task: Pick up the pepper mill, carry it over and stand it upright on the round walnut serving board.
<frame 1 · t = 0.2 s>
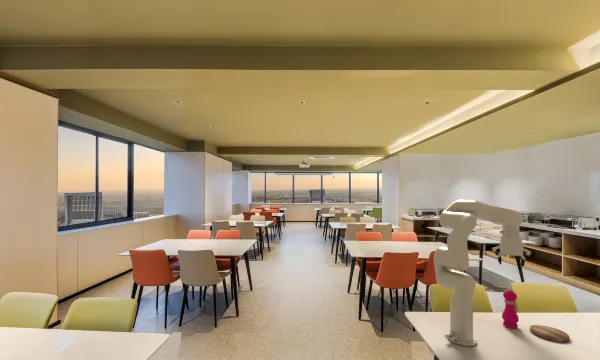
hand: (511, 265, 162), 31 cm above the table, tool pointing down, fingers open, 9 cm apart
walnut board: (549, 334, 147), on the table
pepper mill: (510, 326, 156), on the table
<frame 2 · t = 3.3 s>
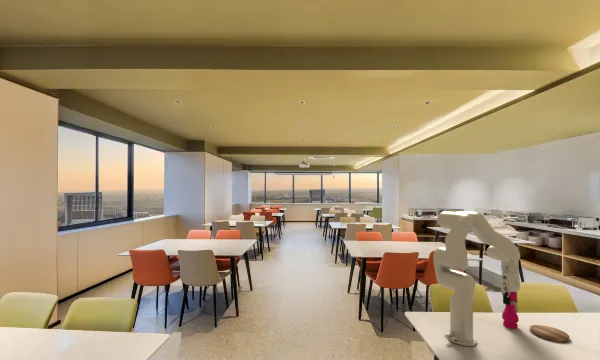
hand: (510, 302, 156), 12 cm above the table, tool pointing down, fingers closed on pepper mill, 6 cm apart
pepper mill: (510, 326, 156), on the table, touching gripper
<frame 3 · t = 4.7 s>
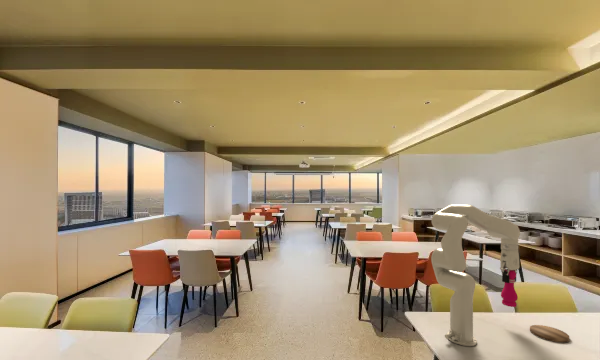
hand: (509, 281, 157), 23 cm above the table, tool pointing down, fingers closed on pepper mill, 6 cm apart
pepper mill: (509, 305, 156), point 11 cm above the table, touching gripper
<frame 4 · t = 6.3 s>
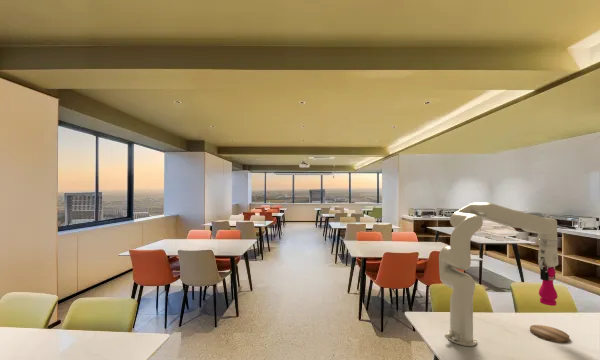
hand: (547, 278, 148), 27 cm above the table, tool pointing down, fingers closed on pepper mill, 6 cm apart
pepper mill: (548, 303, 148), point 15 cm above the table, touching gripper
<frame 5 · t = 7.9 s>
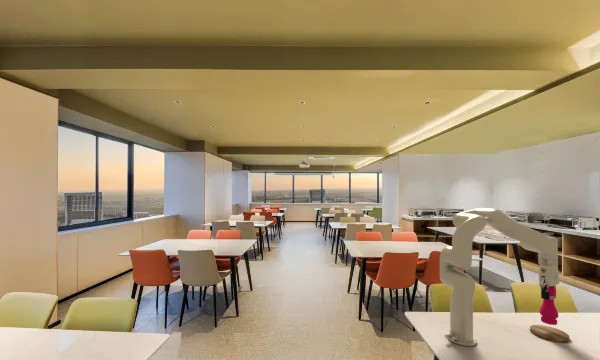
hand: (548, 297, 148), 18 cm above the table, tool pointing down, fingers closed on pepper mill, 6 cm apart
pepper mill: (548, 322, 147), point 6 cm above the table, touching gripper
when the fingers open (15 cm above the table, at t = 9.5 s): pepper mill drops 1 cm, resting on walnut board.
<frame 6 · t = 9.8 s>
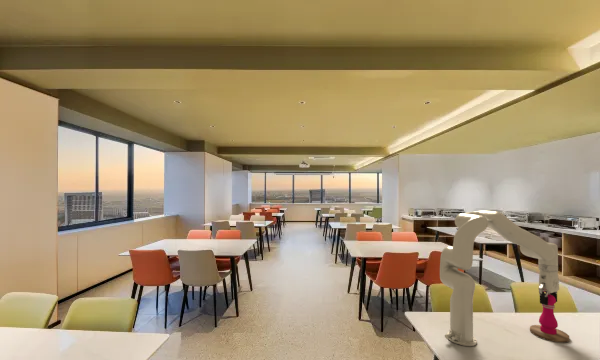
hand: (548, 302, 148), 16 cm above the table, tool pointing down, fingers open, 9 cm apart
pepper mill: (548, 332, 147), point 1 cm above the table, touching walnut board
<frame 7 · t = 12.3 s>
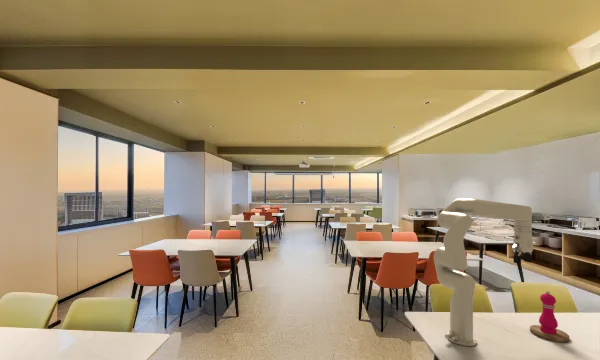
hand: (522, 262, 154), 34 cm above the table, tool pointing down, fingers open, 9 cm apart
nothing on the table moved.
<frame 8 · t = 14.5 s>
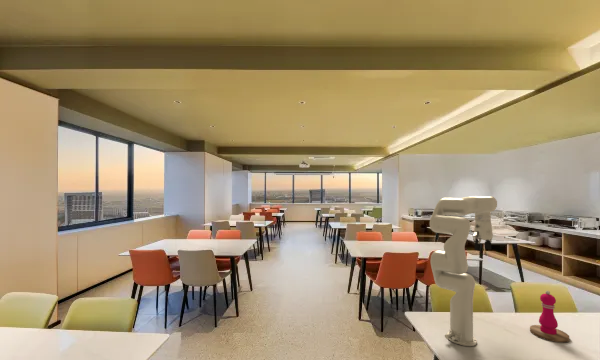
hand: (482, 249, 165), 38 cm above the table, tool pointing down, fingers open, 9 cm apart
nothing on the table moved.
at the end: pepper mill inside the target area on the walnut board (0.3 cm from its centre), point 1.3 cm above the walnut board's base; pepper mill tilted 0°; the gripper is holding nothing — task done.
